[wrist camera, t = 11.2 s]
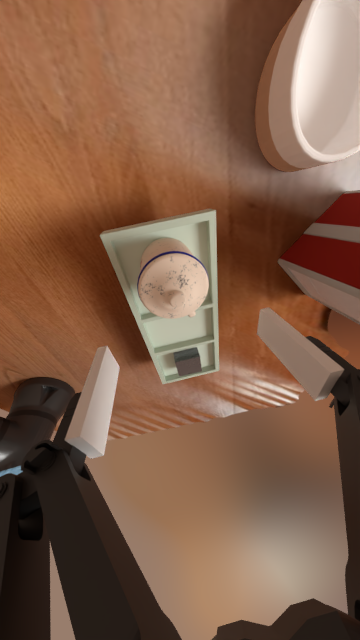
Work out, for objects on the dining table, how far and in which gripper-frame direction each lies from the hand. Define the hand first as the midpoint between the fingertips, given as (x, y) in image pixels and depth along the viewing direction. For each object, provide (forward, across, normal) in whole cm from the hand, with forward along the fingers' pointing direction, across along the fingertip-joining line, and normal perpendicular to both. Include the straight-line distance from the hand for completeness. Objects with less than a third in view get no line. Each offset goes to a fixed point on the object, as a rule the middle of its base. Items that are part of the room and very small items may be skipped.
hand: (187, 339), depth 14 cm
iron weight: (+19, 0, -23) cm, 30 cm away
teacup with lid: (+18, +1, 0) cm, 18 cm away
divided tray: (+19, 0, -11) cm, 22 cm away
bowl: (+26, +27, +19) cm, 43 cm away
